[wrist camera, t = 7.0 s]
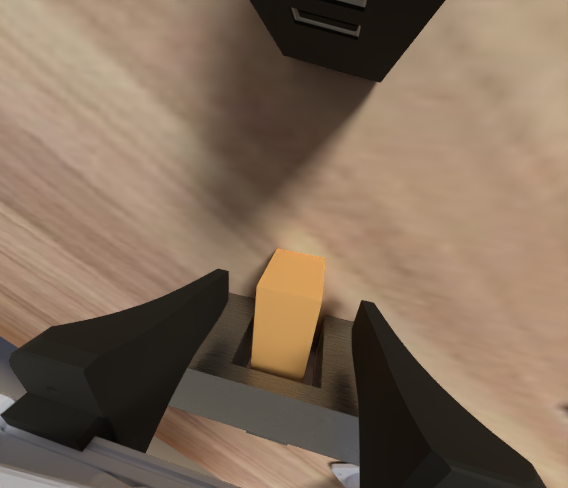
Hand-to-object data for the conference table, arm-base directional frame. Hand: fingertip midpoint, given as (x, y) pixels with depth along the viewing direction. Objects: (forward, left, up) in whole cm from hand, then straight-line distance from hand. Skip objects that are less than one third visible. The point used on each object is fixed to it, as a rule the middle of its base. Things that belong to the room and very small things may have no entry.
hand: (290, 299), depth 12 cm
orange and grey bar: (-4, +3, -3) cm, 6 cm away
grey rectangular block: (-4, +3, -3) cm, 5 cm away
